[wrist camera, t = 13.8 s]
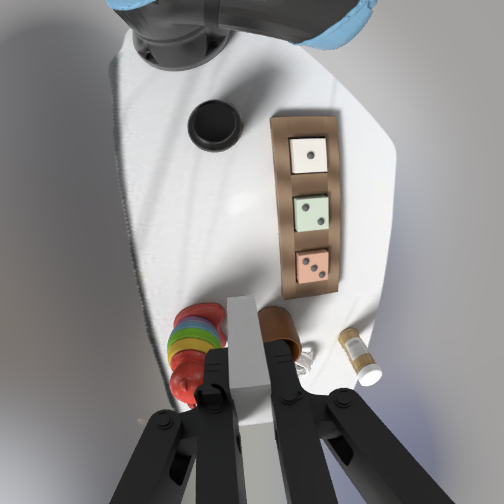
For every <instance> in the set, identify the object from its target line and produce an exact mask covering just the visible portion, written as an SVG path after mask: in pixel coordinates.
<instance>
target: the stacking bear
mask: <svg viewBox="0 0 504 504" xmlns="http://www.w3.org/2000/svg"><path fill="white" fill-rule="evenodd" d="M224 317H225V312H224V308H223V307H221V306H220V305H219V304H216V303H204V304H198V305H194V306H191V307H188V308H186V309H184V310H183V311H181V312H180V313H179V314H178V315H177V316H176V318H175V320H174V330H173V331H172V333H171V335H170V337H169V340H168V345H167V354H168V362H169V366H170V368H171V370H172V371H173V373H172V376H171V379H170V389H171V392H172V393H173V395H174V396H175V397H176V398H177V399H178V400H180V401H182V402H184V403H187V404H188V406H189V407H190V408H191V409H193V408H195V407H196V404H197V403H196V401H195V398H194V392H195V389H196V388H197V387H198V386H199V385H201V384H203V375H204V359H205V355H206V354H207V352H208V351H209V349H216V348H224V347H225V345H226V337H225V335H224V334H223V333H222V331H221V329H220V325H221V323H222V321H223V320H224Z"/></svg>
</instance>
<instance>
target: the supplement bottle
mask: <svg viewBox="0 0 504 504" xmlns="http://www.w3.org/2000/svg"><path fill="white" fill-rule="evenodd" d="M187 128H188V134H189V137H190V139H191V140H192V142H193V143H194V144H195V145H196V146H197V147H198V148H200V149H202V150H204V151H207V152H222V151H225V150H227V149H229V148H231V147H232V146H233V145H235V144H236V143H237V141H238V140H239V138H240V136H241V134H242V131H243V119H242V116H241V114H240V112H239V111H238V109H237V108H236V107H235V106H234V105H232V104H231V103H229V102H227V101H224V100H218V99H214V100H208V101H205V102H203V103H201V104H200V105H198V106H197V107H196V108H195V109H194V110H193V111H192V113H191V115H190V117H189V120H188V125H187Z"/></svg>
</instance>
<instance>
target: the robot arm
mask: <svg viewBox="0 0 504 504" xmlns="http://www.w3.org/2000/svg"><path fill="white" fill-rule="evenodd" d="M105 1H106V3H107V4H108V6H109V7H110V8H112V9H113V10H114V11H115V12H116V13H117V14H118V15H119V16H120V17H121V18H122V19H123V20H124V21H125V22H126V23H127V24H128V25H129V26H130V28H131V29H132V30H133V44H134V47H135V49H136V51H137V53H138V54H139V55H140V57H141V58H142V59H143V60H144V61H146V62H147V63H148V64H149V65H151V66H153V67H155V68H158V69H161V70H165V71H184V70H189V69H193V68H196V67H198V66H201V65H203V64H205V63H207V62H208V61H210V60H211V59H213V58H214V57H215V56H216V55H217V54H218V53H219V52H220V51H221V50H222V49H223V48H224V46H225V45H226V43H227V41H228V39H229V36H230V31H231V30H235V31H241V32H247V33H253V34H258V35H263V36H268V37H273V38H277V39H281V40H285V41H288V42H289V43H291V44H293V45H300V46H301V45H304V46H308V47H312V48H316V49H319V50H333V49H337V48H339V47H342V46H343V45H345V44H347V43H348V42H349V41H351V40H352V39H353V38H354V37H355V36H356V35H357V34H358V33H359V32H360V31H361V30H362V28H363V27H364V26H365V24H366V23H367V22H368V20H369V18H370V17H371V15H372V10H371V9H372V8H373V7H374V6H375V5H376V3H377V0H105ZM227 325H228V347H227V348H216V349H209V351H208V352H207V354H206V355H205V359H204V375H203V384H201V385H199V386H198V387H197V388H196V389H195V392H194V398H195V401H196V403H197V406H196V407H195V408H193V409H191V410H189V411H186V412H182V413H179V414H177V413H176V412H175V411H172V410H165V409H164V410H160V411H157V412H156V413H154V414H153V415H152V416H151V418H150V419H149V421H148V423H147V425H146V427H145V429H144V431H143V433H142V435H141V438H140V440H139V442H138V444H137V446H136V448H135V450H134V452H133V454H132V457H131V458H130V461H129V463H128V465H127V467H126V469H125V471H124V473H123V476H122V477H121V480H120V482H119V484H118V486H117V488H116V490H115V492H114V495H113V497H112V499H111V501H110V503H109V504H181V501H182V497H183V495H184V491H185V489H186V486H187V482H188V479H189V477H190V473H191V471H192V467H193V464H194V461H195V458H196V504H247V499H246V489H245V480H244V470H243V458H242V447H241V436H240V433H239V426H240V425H250V424H258V423H266V422H274V431H275V440H276V443H277V449H278V454H279V460H280V465H281V471H282V476H283V482H284V487H285V493H286V499H287V504H338V501H337V498H336V495H335V491H334V487H333V484H332V480H331V477H330V473H329V470H328V466H327V463H326V460H325V456H324V453H323V449H322V446H321V443H320V439H323V440H324V442H325V444H326V445H327V446H328V448H329V450H330V451H331V452H332V454H333V456H334V457H335V459H336V460H337V462H338V463H339V464H340V466H341V467H342V469H343V470H344V471H345V473H346V475H347V476H348V477H349V479H350V480H351V482H352V483H353V485H354V486H355V487H356V489H357V490H358V491H359V493H360V494H361V496H362V497H363V499H364V500H365V501H366V503H367V504H455V503H454V502H453V501H452V500H451V499H450V498H449V497H448V495H447V494H446V493H445V492H444V491H443V490H442V489H441V488H440V487H439V486H438V485H437V483H436V482H435V481H434V480H433V479H432V478H431V477H430V475H429V474H428V473H427V472H426V471H425V470H424V469H423V468H422V466H421V465H420V464H419V463H418V462H417V461H416V460H415V459H414V457H413V456H412V455H411V454H410V453H409V452H408V451H407V449H406V448H405V447H404V446H403V445H402V444H401V443H400V442H399V440H398V439H397V438H396V437H395V436H394V435H393V434H392V433H391V431H390V430H389V429H388V428H387V427H386V426H385V425H384V423H383V422H382V421H381V420H380V419H379V417H378V416H377V415H376V414H375V413H374V412H373V411H372V410H371V408H370V407H369V406H368V405H367V404H366V403H365V402H364V400H363V399H362V398H361V397H360V396H359V394H358V393H356V392H355V391H354V390H352V389H349V388H339V389H335V390H334V391H332V392H331V393H330V394H329V395H315V394H311V393H308V392H307V391H305V390H304V389H303V388H302V387H301V384H300V382H299V378H298V375H297V372H296V368H295V365H294V362H293V358H292V355H291V352H290V348H289V346H288V345H287V344H286V343H285V342H284V341H283V340H278V341H271V342H263V341H262V336H261V330H260V325H259V320H258V314H257V309H256V304H255V298H254V294H253V295H245V296H237V297H228V298H227Z"/></svg>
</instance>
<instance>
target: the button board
mask: <svg viewBox="0 0 504 504" xmlns="http://www.w3.org/2000/svg"><path fill="white" fill-rule="evenodd" d="M270 127H271V138H272V149H273V161H274V174H275V186H276V200H277V214H278V229H279V245H280V262H281V281H282V295H283V298H284V300H288V299H295V298H302V297H309V296H315V295H321V294H327V293H333V292H338V283H339V263H340V219H341V209H340V165H339V146H338V131H337V118H336V117H334V116H296V117H272V118H270ZM308 136H321V139H325V141H326V157H327V171H326V172H310V173H295V174H291V172H290V158H289V145H288V137H308ZM313 194H324V195H325V196H326V197H328V216H329V229H321V230H312V231H302V232H298V231H297V230H296V229H295V228H294V223H293V203H292V196H301V195H313ZM318 248H325V249H326V250H327V251H328V280H321V281H314V282H307V283H300V284H299V282H298V280H297V278H296V277H295V251H302V250H310V249H318Z"/></svg>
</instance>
